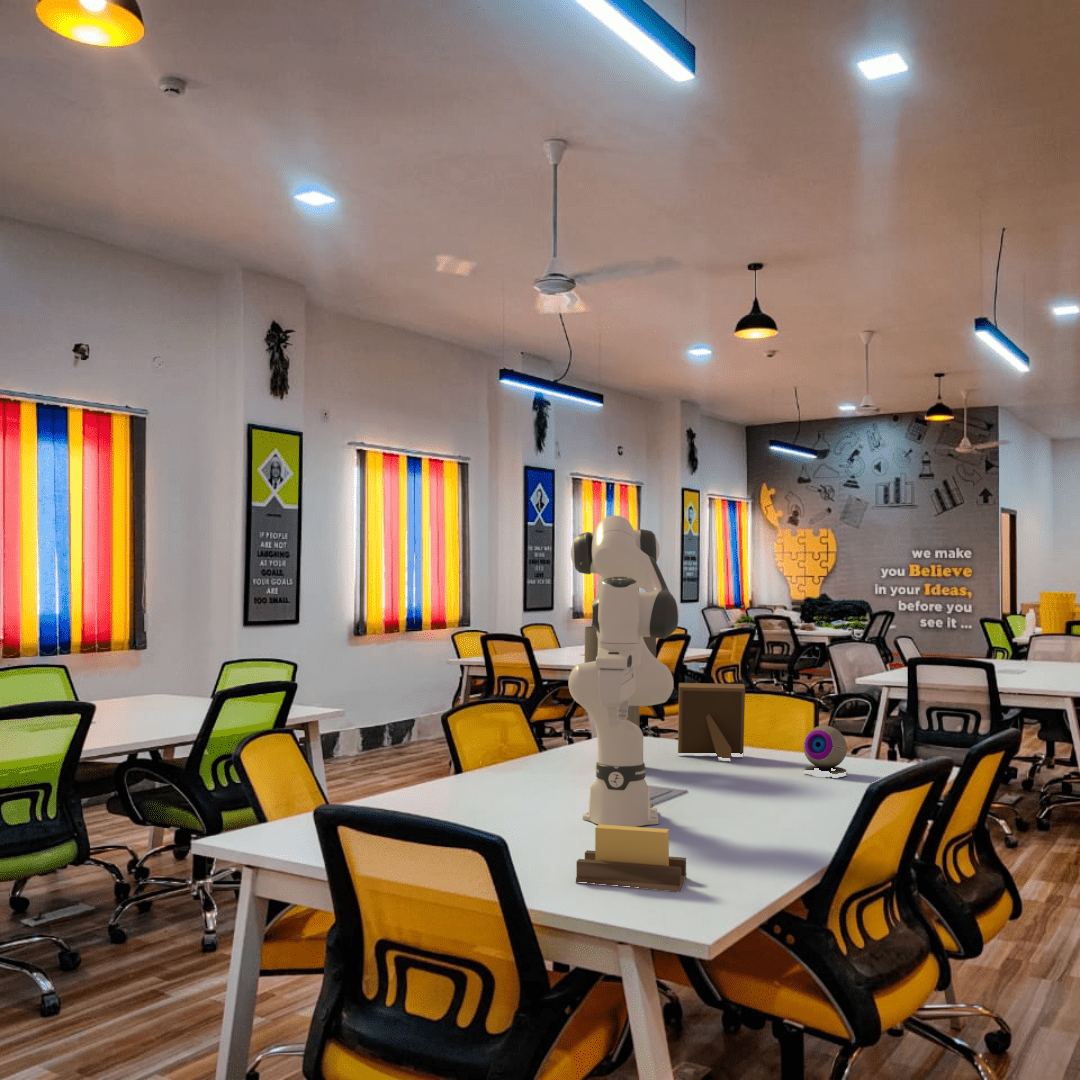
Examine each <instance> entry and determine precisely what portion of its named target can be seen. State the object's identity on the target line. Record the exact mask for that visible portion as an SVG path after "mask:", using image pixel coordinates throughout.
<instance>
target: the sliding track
mask: <svg viewBox="0 0 1080 1080" xmlns="http://www.w3.org/2000/svg"><path fill="white" fill-rule="evenodd" d="M685 879H687V857H683V856H681V857H679V856H669V866H664V865H651V864H638V863H625V862H613V861H600V860H595V850H588V849H587V850H586V851H585V852H584V859H583V858H578V859H577V860H576V876H575V883H576V882H587V883H595V884H606V885H618V886H630V887H639V888H638V889H640V888H648V889H647V890H652V889H657V890H656V891H664V890H669V891H668V892H676V891H680V892H681V890H682V888H683V886H684V884H685V882H686V880H685ZM684 881H685V882H684ZM683 883H684V884H683ZM682 885H683V886H682ZM681 887H682V888H681ZM680 889H681V890H680Z"/></svg>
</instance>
